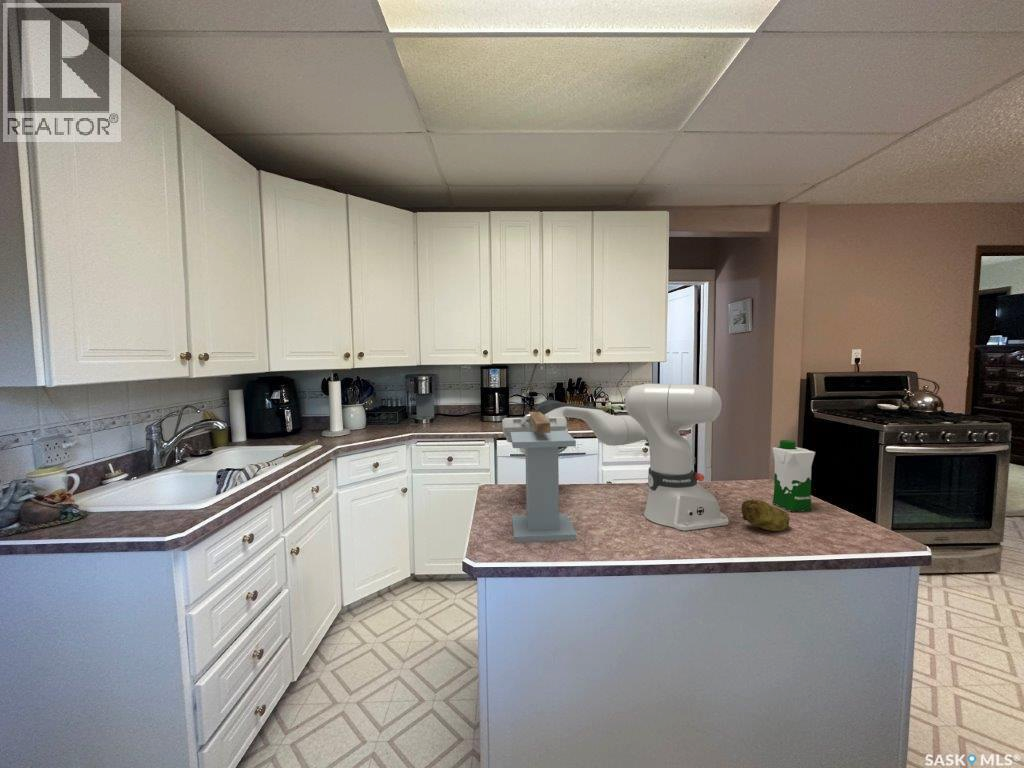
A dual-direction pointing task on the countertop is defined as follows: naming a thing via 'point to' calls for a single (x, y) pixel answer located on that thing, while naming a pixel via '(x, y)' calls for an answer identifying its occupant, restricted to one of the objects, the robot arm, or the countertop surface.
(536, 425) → the block
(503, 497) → the countertop surface
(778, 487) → the milk carton
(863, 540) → the countertop surface
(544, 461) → the stand
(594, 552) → the countertop surface
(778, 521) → the potato
